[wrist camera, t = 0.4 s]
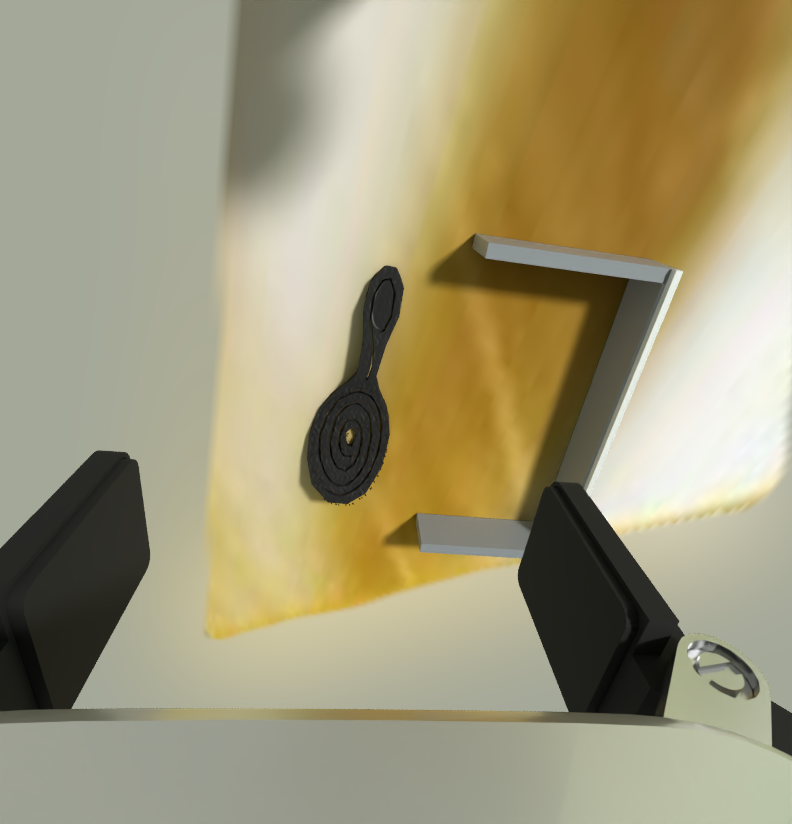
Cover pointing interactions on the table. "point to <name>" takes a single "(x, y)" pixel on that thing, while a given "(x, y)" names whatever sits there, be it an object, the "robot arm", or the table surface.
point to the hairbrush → (357, 406)
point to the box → (605, 395)
